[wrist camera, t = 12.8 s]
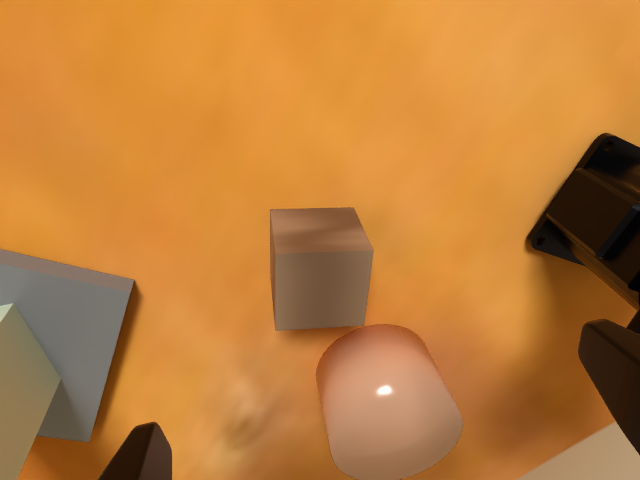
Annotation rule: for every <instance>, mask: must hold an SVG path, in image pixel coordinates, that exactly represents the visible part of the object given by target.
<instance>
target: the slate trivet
mask: <svg viewBox="0 0 640 480" xmlns="http://www.w3.org/2000/svg"><path fill="white" fill-rule="evenodd" d="M133 283H134V280H132V279H128V278H123V277H119V276H114V275H110V274H106V273H101V272H97V271H93V270H88V269H84V268H80V267H75V266H71V265H67V264H62V263H58V262H54V261H49V260H45V259H41V258H36V257H32V256H28V255H23V254H19V253H15V252H10V251H6V250H2V249H0V306H2V305H7V304H12V303H14V305H15V307H16V308H17V310H18V311H19V313H20V315H21V316H22V318H23V319H24V321H25V322H26V324H27V326H28V327H29V329H30V330H31V332H32V333H33V335H34V337H35V338H36V340H37V341H38V343H39V345H40V346H41V348H42V349H43V351H44V352H45V354H46V356H47V357H48V359H49V360H50V362H51V363H52V365H53V367H54V368H55V370H56V371H57V373H58V375H59V376H60V378H61V380H60V382H59V384H58V387H57V389H56V391H55V394H54V396H53V398H52V401H51V403H50V405H49V407H48V410H47V412H46V414H45V417H44V419H43V421H42V424H41V426H40V428H39V431H38V433H37V435H36V436H41V437H50V438H58V439H66V440H74V441H83V442H89V441H90V438H91V434H92V431H93V428H94V425H95V421H96V417H97V414H98V410H99V406H100V403H101V399H102V396H103V392H104V388H105V385H106V381H107V377H108V374H109V370H110V367H111V363H112V359H113V356H114V352H115V348H116V345H117V341H118V338H119V334H120V330H121V327H122V323H123V319H124V316H125V312H126V309H127V305H128V301H129V298H130V294H131V291H132V287H133Z"/></svg>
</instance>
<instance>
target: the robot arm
mask: <svg viewBox="0 0 640 480" xmlns="http://www.w3.org/2000/svg"><path fill="white" fill-rule="evenodd" d="M607 141H608V143H607V145H606V146H605V147H604V144H605V143H606V142H607ZM538 238H540V239H539V240H538V241H536V240H537V239H538ZM527 241H528V244H530V245H531V246H532V247H533V248H534V249H537V250H540V251H542V252H545V253H548V254H551V255H554V256H557V257H560V258H563V259H566V260H569V261H572V262H575V263H578V264H581V265H584V266H587V267H588V268H589V269H590V270H591V271H593V272H594V273H595V274H596V275H597V276H598V277H599V278H601V279H602V280H603V281H604V282H605V283H606V284H607V285H609V286H610V287H611V288H612V289H613V290H614V291H616V292H617V293H618V294H619V295H620V296H621V297H622V298H624V299H625V300H626V301H627V302H628V303H629V304H630V305H632V306H633V307H634V308H635V309H636V310H637V313H636V314H635V316H634V317H633V318H632V320H631V321H630V323H629V324H628V326H627V327H626V328H624V327H622V326H620V325H618V324H616V323H613V322H611V321H609V320H606V319H599V320H595V321H591V322H587V323H585V324H584V325H583V327H582V332H581V337H580V342H579V348H578V354H579V358H580V361H581V363H582V364H583V366H584V368H585V369H586V371H587V373H588V375H589V376H590V378H591V380H592V381H593V383H594V385H595V387H596V388H597V390H598V392H599V393H600V395H601V397H602V398H603V400H604V402H605V404H606V405H607V407H608V409H609V410H610V412H611V414H612V416H613V417H614V419H615V420H616V422H617V424H618V425H619V427H620V428H621V430H622V431H623V433H624V434H625V435H626V437H627V438H628V440H629V441H630V442H631V444H632V445H633V446H634V448H635V449H636V451H637V452H638V453H639V455H640V147H638V146H635V145H633V144H631V143H629V142H627V141H625V140H623V139H621V138H619V137H616V136H614V135H612V134H610V133H603V134H601V135H600V136H598V137H597V138H596V139H595V141H594V142H593V144H592V145H591V147H590V148H589V150H588V151H587V152H586V154H585V155H584V157H583V158H582V160H581V161H580V162H579V164H578V165H577V167H576V168H575V170H574V171H573V172H572V174H571V175H570V177H569V178H568V180H567V181H566V182H565V184H564V185H563V187H562V188H561V190H560V191H559V192H558V194H557V195H556V197H555V198H554V200H553V201H552V203H551V204H550V205H549V207H548V208H547V210H546V211H545V213H544V214H543V215H542V217H541V218H540V220H539V221H538V223H537V224H536V225H535V227H534V228H533V230H532V231H531V233H530V234H529V236H528V238H527ZM98 480H172V451H171V447H170V445H169V443H168V441H167V439H166V437H165V435H164V433H163V432H162V430H161V428H160V426H159V425H158V424H157V423H156V422H150V423H146V424H142V425H138V426H136V427H135V428H134V429H133V430H132V431H131V433H130V434H129V435H128V437H127V438H126V440H125V441H124V443H123V444H122V446H121V447H120V448H119V450H118V451H117V453H116V454H115V456H114V457H113V458H112V460H111V461H110V463H109V464H108V466H107V467H106V469H105V470H104V471H103V473H102V474H101V476H100V477H99V479H98Z"/></svg>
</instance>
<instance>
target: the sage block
mask: <svg viewBox="0 0 640 480" xmlns="http://www.w3.org/2000/svg"><path fill="white" fill-rule="evenodd" d="M60 380H61V378H60V376H59V375H58V373H57V371H56V370H55V368H54V367H53V365H52V363H51V362H50V360H49V359H48V357H47V356H46V354H45V352H44V351H43V349H42V348H41V346H40V345H39V343H38V341H37V340H36V338H35V337H34V335H33V333H32V332H31V330H30V329H29V327H28V326H27V324H26V322H25V321H24V319H23V318H22V316H21V315H20V313H19V311H18V310H17V308H16V307H15V305H14V303H12V304H7V305H2V306H0V480H17V479H18V477H19V474H20V472H21V470H22V467H23V465H24V463H25V461H26V458H27V456H28V454H29V451H30V449H31V447H32V444H33V442H34V440H35V437H36V435H37V433H38V431H39V428H40V426H41V424H42V421H43V419H44V417H45V414H46V412H47V410H48V407H49V405H50V403H51V401H52V398H53V396H54V394H55V391H56V389H57V387H58V384H59V382H60Z"/></svg>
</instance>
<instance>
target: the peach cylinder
mask: <svg viewBox="0 0 640 480" xmlns="http://www.w3.org/2000/svg"><path fill="white" fill-rule="evenodd" d="M316 381H317V386H318V391H319V396H320V401H321V405H322V410H323V415H324V420H325V425H326V430H327V435H328V440H329V445H330V450H331V455H332V458H333V461H334V463H335V465H336V466H337V467H338V468H339V469H340V470H341V471H342V472H343V473H345V474H346V475H348V476H350V477H353V478H355V479H359V480H398V479H402V478H406V477H409V476H412V475H415V474H417V473H420V472H422V471H424V470H426V469H428V468H430V467H431V466H433V465H434V464H436V463H437V462H439V461H440V460H441V459H443V458H444V457H445V456H446V455H447V454H448V453H449V452H450V451H451V450H452V448H453V447H454V446H455V444H456V443H457V441H458V439H459V437H460V435H461V432H462V426H463V421H462V416H461V413H460V411H459V409H458V407H457V405H456V403H455V401H454V399H453V397H452V395H451V394H450V392H449V390H448V388H447V386H446V384H445V382H444V380H443V378H442V376H441V374H440V372H439V370H438V368H437V366H436V364H435V362H434V360H433V359H432V357H431V355H430V353H429V351H428V349H427V347H426V345H425V343H424V341H423V340H422V339H421V338H420V337H419V336H418V335H417V334H416V333H414V332H413V331H411V330H409V329H407V328H404V327H401V326H396V325H387V324H381V325H371V326H366V327H362V328H359V329H356V330H354V331H351V332H349V333H347V334H345V335H344V336H342V337H340V338H339V339H338V340H336V341H335V342H334V343H333V344H332V345H331V346H329V347H328V349H327V350H326V351H325V352H324V354H323V355H322V357H321V359H320V361H319V363H318V366H317V370H316Z"/></svg>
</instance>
